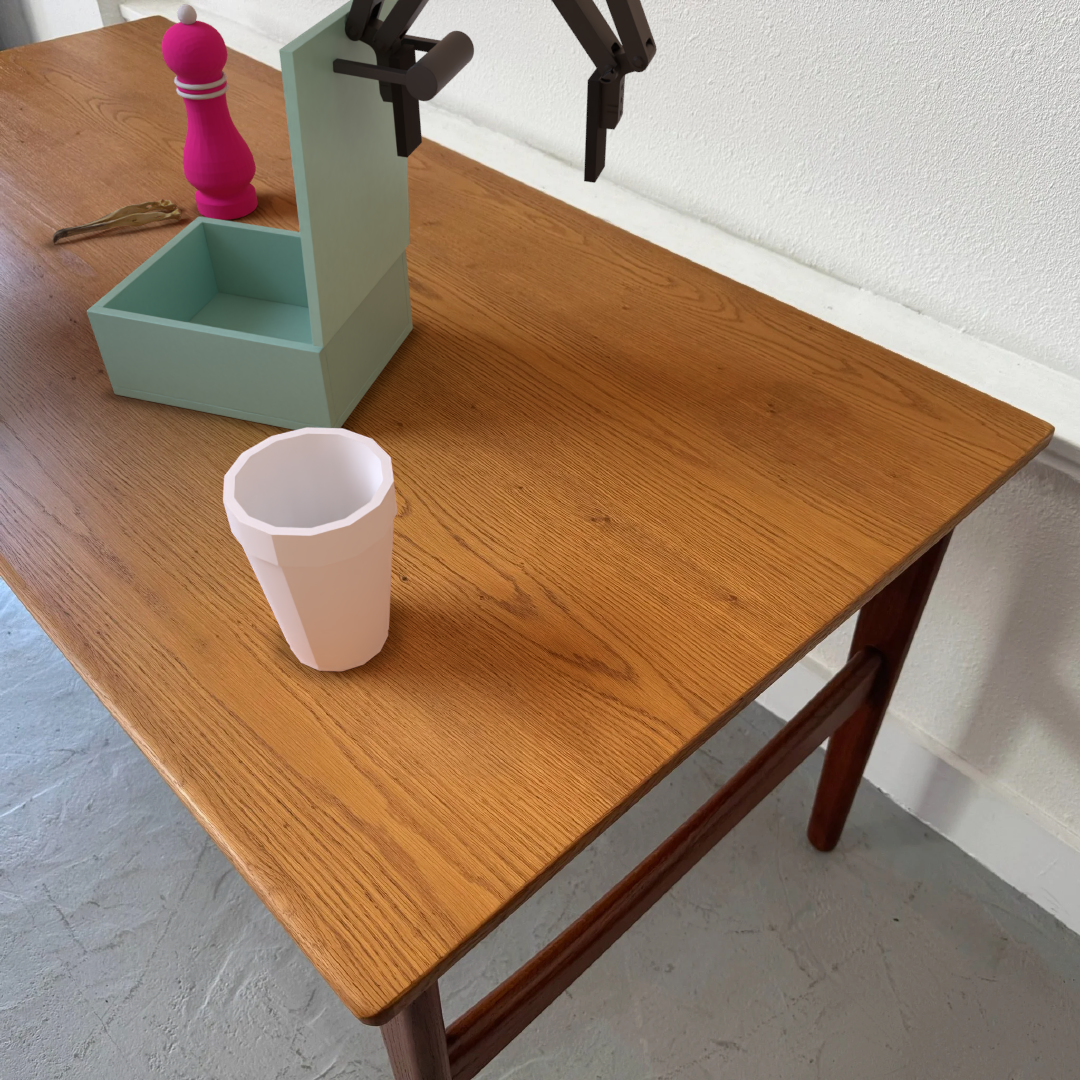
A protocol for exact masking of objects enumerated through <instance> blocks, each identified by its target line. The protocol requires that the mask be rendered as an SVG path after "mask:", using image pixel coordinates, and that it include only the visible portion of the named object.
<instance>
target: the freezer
mask: <svg viewBox="0 0 1080 1080" xmlns="http://www.w3.org/2000/svg"><path fill="white" fill-rule="evenodd" d="M407 258H408V257H407V248H406V249H405V250H404V251H403V252H402V254H401V255H400V256H399V257H398V259H397V260H396V261H395V262H394V263H393V265H392V266H391V267H390V268H389V269H388V271H387V272H386V273H385V274H384V276H383V277H382V278H381V279H380V280H379V282H378V283H377V284H376V285H375V286H374V288H373V289H372V290H371V291H370V292H369V294H368V295H367V296H366V297H365V299H364V300H363V301H362V302H361V303H360V305H359V306H358V307H357V308H356V309H355V311H354V312H353V313H352V314H351V315H350V317H349V318H348V319H347V320H346V322H345V323H344V324H343V325H342V326H341V328H340V329H339V330H338V331H337V332H336V334H335V335H334V336H333V337H332V338H331V340H330V341H329V342H328V343H327V345H326V346H325V347H324V348H323V347H318V346H314V345H313V341H312V333H311V324H310V315H309V306H308V298H307V289H306V280H305V271H304V263H303V254H302V245H301V236H300V231H296V230H291V229H285V228H284V229H283V228H278V227H271V226H263V225H257V224H252V223H245V222H239V221H232V220H219V219H213V218H206V217H205V216H197V217H196V218H195V219H193V220H192V221H191V222H190V223H189V224H187V226H185V227H184V228H183V229H182V230H180V232H178V233H177V234H176V235H174V236H173V237H172V238H171V239H170V240H168V242H166V243H165V244H164V245H163V246H161V247H160V248H159V249H158V250H156V251H155V252H154V253H153V254H152V255H151V256H150V257H148V258H147V259H146V260H145V261H143V262H142V263H141V264H140V265H139V266H138V267H136V268H135V269H134V270H133V271H132V272H131V273H130V274H128V275H127V276H126V277H125V278H124V279H122V280H121V281H120V282H119V283H117V284H116V285H115V286H114V287H113V288H112V289H110V290H109V291H108V292H107V293H106V294H104V295H103V296H102V297H101V298H99V299H98V300H97V301H96V302H95V303H93V305H91V307H89V308H88V309H87V310H86V314H87V317H88V320H89V323H90V326H91V329H92V332H93V336H94V338H95V340H96V344H97V347H98V350H99V353H100V357H101V359H102V361H103V365H104V368H105V370H106V373H107V377H108V379H109V382H110V385H111V388H112V391H113V393H114V395H116V396H121V397H126V398H130V399H131V398H132V399H135V400H141V401H147V402H150V403H151V402H152V403H157V404H161V405H167V406H172V407H177V408H181V409H186V410H191V411H197V412H202V413H207V414H212V415H218V416H223V417H226V418H227V417H228V418H233V419H238V420H243V421H247V422H251V423H252V422H253V423H258V424H263V425H268V426H272V427H278V428H283V429H288V430H291V431H294V430H298V429H302V428H307V427H309V428H342V427H343V425H344V424H345V422H346V421H347V419H348V418H349V417H350V415H351V414H352V413H353V412H354V410H355V409H356V407H357V406H358V405H359V403H360V402H361V401H362V399H363V398H364V397H365V395H366V394H367V392H368V391H369V390H370V388H371V387H372V385H373V384H374V383H375V382H376V381H377V378H379V376H380V374H381V373H382V372H383V370H384V369H385V368H386V366H387V365H388V364H389V362H390V361H391V360H392V358H393V357H394V356H395V354H396V352H397V351H398V349H399V348H400V347H401V345H402V344H403V343H404V341H405V340H406V339H407V338H408V336H409V334H410V333H411V332H412V330H413V329H414V324H413V313H412V302H411V292H410V291H411V290H410V280H409V271H408V259H407Z"/></svg>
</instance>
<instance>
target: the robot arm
mask: <svg viewBox="0 0 1080 1080" xmlns="http://www.w3.org/2000/svg"><path fill="white" fill-rule="evenodd" d="M384 1H385V0H353V2H352V6H351V9H350V12H349V15H348V19H347V22H346V25H345V33H346V35H347V37H348V38H349V39H350V40H352V41H358V40H360V41H362V42H364V43H366V44H368V45H369V46H370V47H371V48H372V49H373V50H374V52H375V54H376V61H377V65H378V66H384V67H390V68H396V69H401V70H407V71H408V70H409V69H410V68H411V67H412V66H413V65H414V64H415V63H416V62H417V58H416V50H415V45H408V44H404V45H403V46H401V42H400V41H401V40H402V39H404V38H405V37H406V36H405V34H406V35H407V34H408V31H410V29H411V27H412V26H413V25H414V23H415V22H416V20H417V19H418V17H419V16H420V14H421V13H422V11H423V10H424V8H425V7H426V5H427V4H428V3H429V1H430V0H398V1H397V2H396V4H395V5H394V7H393V8H392V10H391V11H390V13H389V14H388V16H387V17H386V19H385V20H384V22H383V21H381V20H379V16H380V13H381V10H382V7H383V4H384ZM551 2H552V3H553V4H554V6H555V8H556V10H557V11H558V12H559V14H560V16H561V17H562V19H563V20H564V21H565V23H566V24H567V26H568V27H569V29H570V31H571V32H572V34H574V37H575V38H576V40H577V41H578V43H579V44H580V45H581V47H582V48H583V50H584V52H585V53H586V54H587V56H588V58H589V59H590V61H591V62H592V64H593V65H594V67H595V69H594V70H593V72H592V74H591V75H590V76H589V77H588V79H587V86H586V87H587V90H586V117H585V142H584V145H585V146H584V170H583V171H584V172H583V173H584V174H583V181H584V182H586V183H593V184H594V183H596V182H597V180H598V179H599V177H600V175H602V172H603V170H604V169H605V167H606V156H607V155H606V153H607V132H608V130H612V131H613V130H615V129H616V128H617V126H618V124H619V123H620V122H621V119H622V117H623V115H624V103H625V102H624V98H625V87H626V85H625V84H626V83H625V82H626V75H628V74H631V73H643V72H644V71H646V69H647V68H648V67H649V66H650V64H651V62H652V60H653V59H654V57H655V56H656V54H657V50H658V49H657V44H656V41H655V39H654V36H653V33H652V30H651V26H650V25H649V22H648V18H647V16H646V14H645V13H646V12H645V10H644V8H643V5H642V2H641V0H605V3H606V5H607V8H608V11H609V13H610V16H611V19H612V21H613V25H614V27H615V30H616V32H617V35H616V34H615V32H614V31H613V29H612V28H611V26H610V25H609V23H608V22H607V20H606V18H605V17H604V15H603V14H602V12H601V11H600V9H599V7H598V6H597V4H596V3H595V1H594V0H551ZM617 36H618V37H617ZM378 81H379V80H378ZM379 91H380V95H381V97H382V100H383V102H391V103H393V114H394V125H395V136H396V147H397V156H400V157H407V159H408V158H409V157H410V156H411V154H412V153H414V151H416V150H417V149H418V147H420V145H422V143H423V139H422V138H423V137H422V126H421V125H422V124H421V111H420V100H417V99H415V98H414V97H413V96H412V95H411V94H410V93H409V92H408V90H407V88H406V85H402V84H396V83H391V82H385V81H379Z"/></svg>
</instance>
